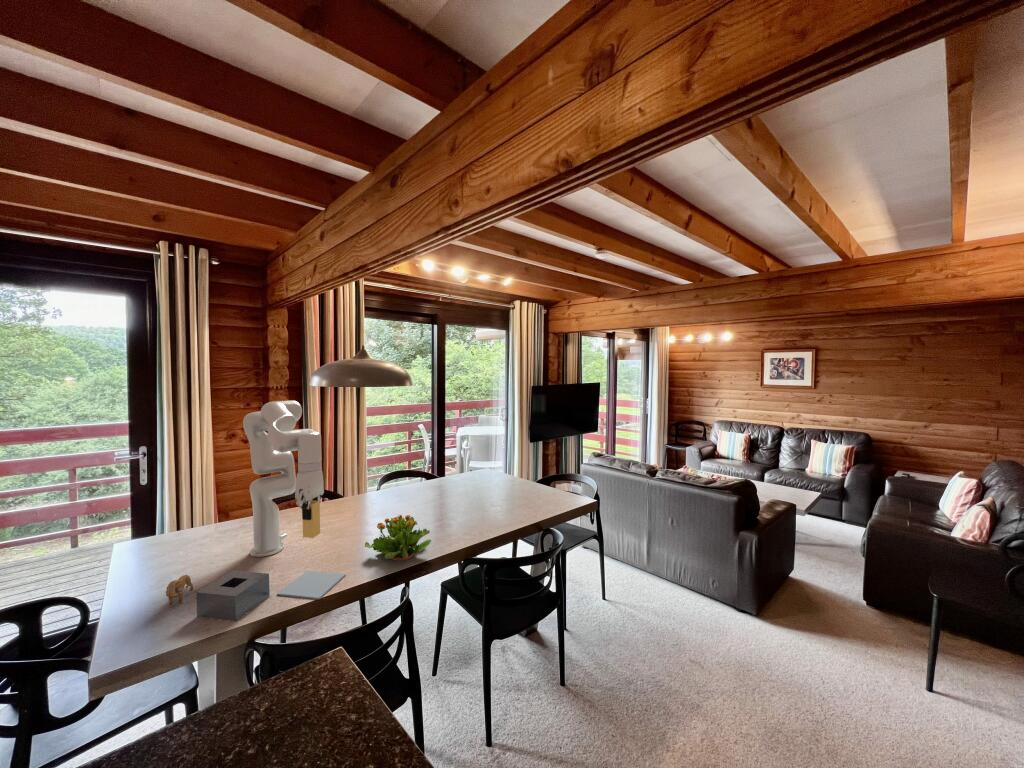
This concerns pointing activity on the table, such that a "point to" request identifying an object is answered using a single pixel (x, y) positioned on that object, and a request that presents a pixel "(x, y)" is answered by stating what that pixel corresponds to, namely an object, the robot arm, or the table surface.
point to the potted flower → (399, 539)
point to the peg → (312, 521)
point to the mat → (311, 585)
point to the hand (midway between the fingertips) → (311, 516)
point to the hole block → (232, 595)
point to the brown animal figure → (178, 589)
